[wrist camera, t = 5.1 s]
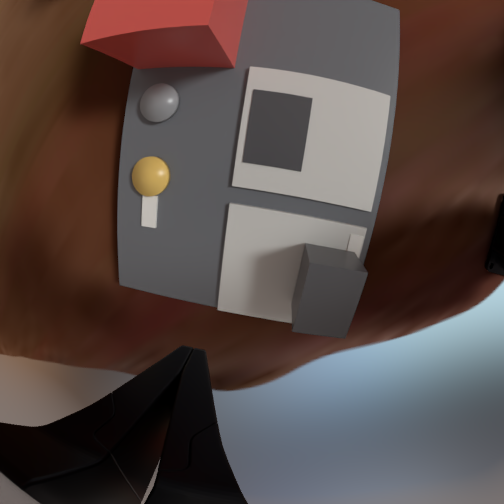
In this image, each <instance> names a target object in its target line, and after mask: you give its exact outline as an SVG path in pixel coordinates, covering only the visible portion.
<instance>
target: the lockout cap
mask: <svg viewBox="0 0 504 504" xmlns="http://www.w3.org/2000/svg"><path fill="white" fill-rule="evenodd" d="M247 3H248V0H95V1H94V4H93V6H92V9H91V12H90V15H89V18H88V20H87V23H86V26H85V30H84V33H83V36H82V39H81V43H80V44H82V45H84V46H87V47H89V48H92V49H94V50H97V51H99V52H101V53H104V54H106V55H108V56H111V57H113V58H115V59H117V60H119V61H122V62H124V63H126V64H128V65H130V66H132V67H134V68H136V69H148V68H164V67H223V68H235V63H236V58H237V53H238V47H239V42H240V37H241V32H242V27H243V22H244V17H245V12H246V8H247Z"/></svg>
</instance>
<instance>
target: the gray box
mask: <svg viewBox="0 0 504 504" xmlns="http://www.w3.org/2000/svg"><path fill="white" fill-rule="evenodd" d="M367 275H368V272H367V270H366V269H365V267H364V266H363V264H362V263H361V261H360V260H359V258H358V257H357V255H356V254H355V252H351V251H346V250H341V249H335V248H330V247H324V246H319V245H313V244H308V243H305V246H304V251H303V255H302V260H301V264H300V269H299V273H298V277H297V282H296V286H295V290H294V294H293V298H292V303H291V310H292V332H298V333H305V334H312V335H320V336H328V337H336V338H345V337H346V335H347V332H348V330H349V327H350V324H351V322H352V319H353V316H354V314H355V311H356V308H357V305H358V302H359V299H360V296H361V294H362V291H363V288H364V284H365V281H366V278H367Z"/></svg>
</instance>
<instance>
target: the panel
mask: <svg viewBox="0 0 504 504" xmlns="http://www.w3.org/2000/svg"><path fill="white" fill-rule="evenodd" d="M399 49H400V14H399V10H398V9H395V8H392V7H389V6H387V5H384V4H381V3H378V2H375V1H372V0H248V3H247V8H246V12H245V17H244V22H243V27H242V32H241V37H240V42H239V47H238V53H237V58H236V63H235V68H223V67H164V68H148V69H136V68H134V67H133V71H132V76H131V82H130V87H129V92H128V98H127V105H126V111H125V118H124V126H123V134H122V143H121V154H120V166H119V182H118V211H117V237H118V266H119V283H120V285H122V286H126V287H129V288H133V289H137V290H141V291H145V292H150V293H154V294H158V295H162V296H166V297H171V298H175V299H180V300H184V301H189V302H193V303H198V304H203V305H208V306H213V307H218V309H217V310H220V311H225V312H230V313H236V314H241V315H247V316H252V317H258V318H264V319H269V320H275V321H282V322H288V323H292V310H291V303H292V298H293V294H294V290H295V286H296V282H297V277H298V273H299V269H300V264H301V260H302V255H303V251H304V246H305V243H308V244H313V245H319V246H324V247H330V248H335V249H341V250H346V251H351V252H355V254H356V255H357V257H358V258H359V260H360V261H361V263H362V264H364V261H365V258H366V254H367V250H368V247H369V243H370V239H371V236H372V232H373V228H374V224H375V220H376V216H377V211H378V207H379V203H380V198H381V193H382V189H383V184H384V179H385V174H386V168H387V163H388V157H389V151H390V145H391V138H392V131H393V124H394V116H395V107H396V97H397V86H398V72H399Z"/></svg>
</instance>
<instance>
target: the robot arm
mask: <svg viewBox="0 0 504 504" xmlns="http://www.w3.org/2000/svg"><path fill="white" fill-rule="evenodd" d="M490 264H491V265H490ZM485 269H486V270H488V271H489V272H492V273H496V274H500V275H504V197H503V201H502V206H501V210H500V215H499V219H498V223H497V227H496V231H495V234H494V238H493V241H492V245H491V248H490V251H489V254H488V257H487V260H486V263H485ZM112 393H113V394H112ZM112 393H110V394H108V395H107V396H105V397H103V398H102V399H100V400H99V401H97V402H95V403H93V404H92V405H90V406H88V407H86V408H84V409H82V410H80V411H77V412H75V413H73V414H71V415H69V416H66V417H64V418H62V419H60V420H57V421H55V422H53V423H50V424H47V425H44V426H38V427H29V426H21V425H14V424H7V423H0V504H141V501H142V500H143V497H144V495H145V493H146V490H147V488H148V486H149V483H150V481H151V479H152V476H153V474H154V471H155V469H156V467H157V465H158V462H159V460H160V463H159V468H158V473H157V476H156V480H155V483H154V486H153V489H152V490H151V492H150V494H149V496H148V498H147V500H146V502H145V503H144V504H248V503H247V501H246V500H245V498H244V496H243V494H242V492H241V490H240V488H239V485H238V483H237V481H236V479H235V476H234V474H233V472H232V469H231V467H230V465H229V462H228V460H227V457H226V454H225V451H224V448H223V445H222V441H221V437H220V433H219V427H218V424H217V417H216V411H215V406H214V400H213V394H212V388H211V381H210V375H209V368H208V362H207V355H206V351H205V350H201V349H197V348H195V349H193V348H192V347H188V346H180V347H179V348H177V349H176V350H174V351H173V352H172V353H170V354H169V355H167V356H166V357H164V358H163V359H161V360H160V361H158V362H157V363H155V364H154V365H152V366H151V367H149V368H148V369H146V370H145V371H143V372H142V373H140V374H139V375H137V376H136V377H134V378H133V379H132V380H130V381H128V382H127V383H125V384H124V385H122V386H121V387H119V388H118V389H116V390H115V391H113V392H112Z"/></svg>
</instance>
